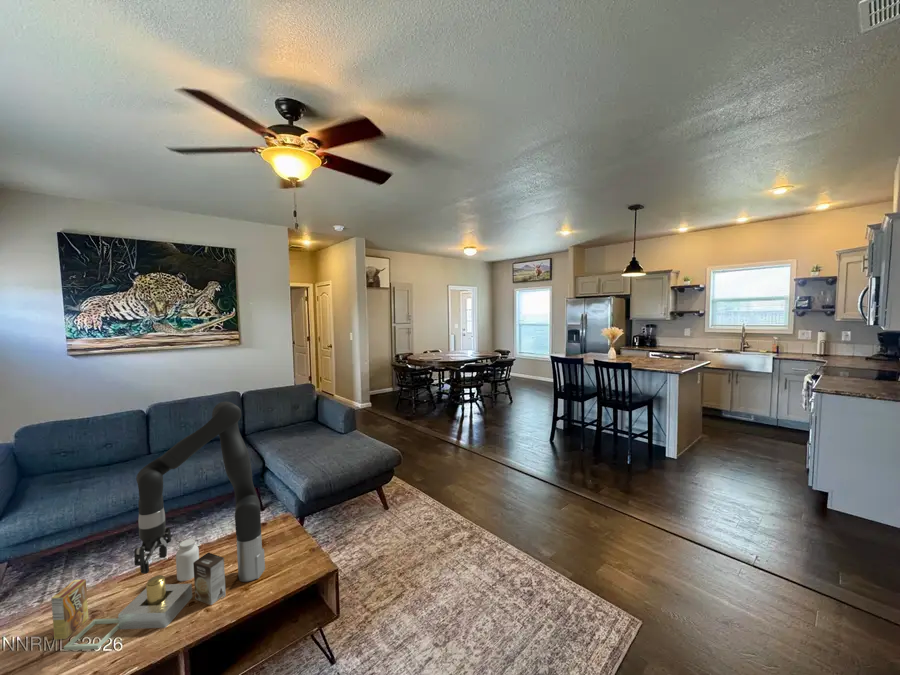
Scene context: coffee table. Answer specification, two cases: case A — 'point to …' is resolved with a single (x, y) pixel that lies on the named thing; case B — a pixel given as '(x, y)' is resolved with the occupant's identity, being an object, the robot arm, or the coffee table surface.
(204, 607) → the coffee table surface
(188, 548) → the pill bottle
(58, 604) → the candy box
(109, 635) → the tray
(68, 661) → the coffee table surface
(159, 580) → the gold shiny round cylinder
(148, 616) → the housing
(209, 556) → the coffee box
